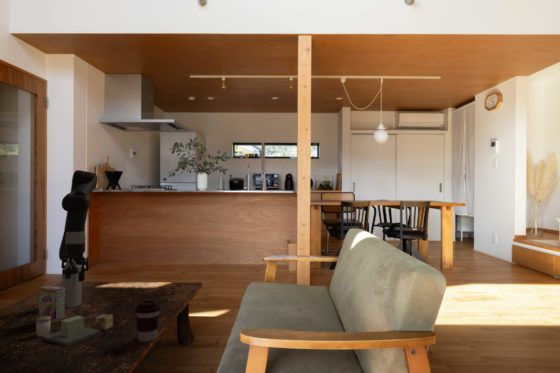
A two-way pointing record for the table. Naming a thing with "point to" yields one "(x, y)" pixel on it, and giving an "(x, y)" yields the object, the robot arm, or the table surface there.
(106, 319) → the oak cube
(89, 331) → the board
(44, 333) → the cream jar
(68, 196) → the robot arm
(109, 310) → the table surface
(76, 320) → the sage block
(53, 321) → the walnut block
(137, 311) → the coffee cup
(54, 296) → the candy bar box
